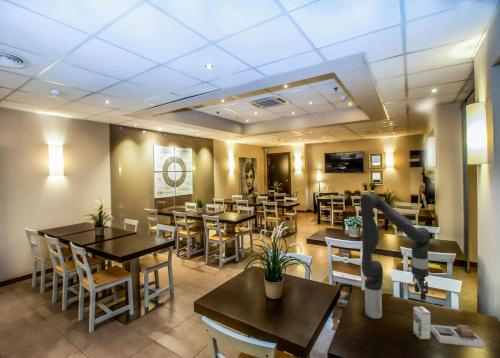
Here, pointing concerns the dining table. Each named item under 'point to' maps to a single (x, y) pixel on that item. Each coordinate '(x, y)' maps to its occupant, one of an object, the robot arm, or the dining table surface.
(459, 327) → the walnut block
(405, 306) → the dining table surface
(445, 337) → the white compartment tray
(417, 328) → the syrup box
